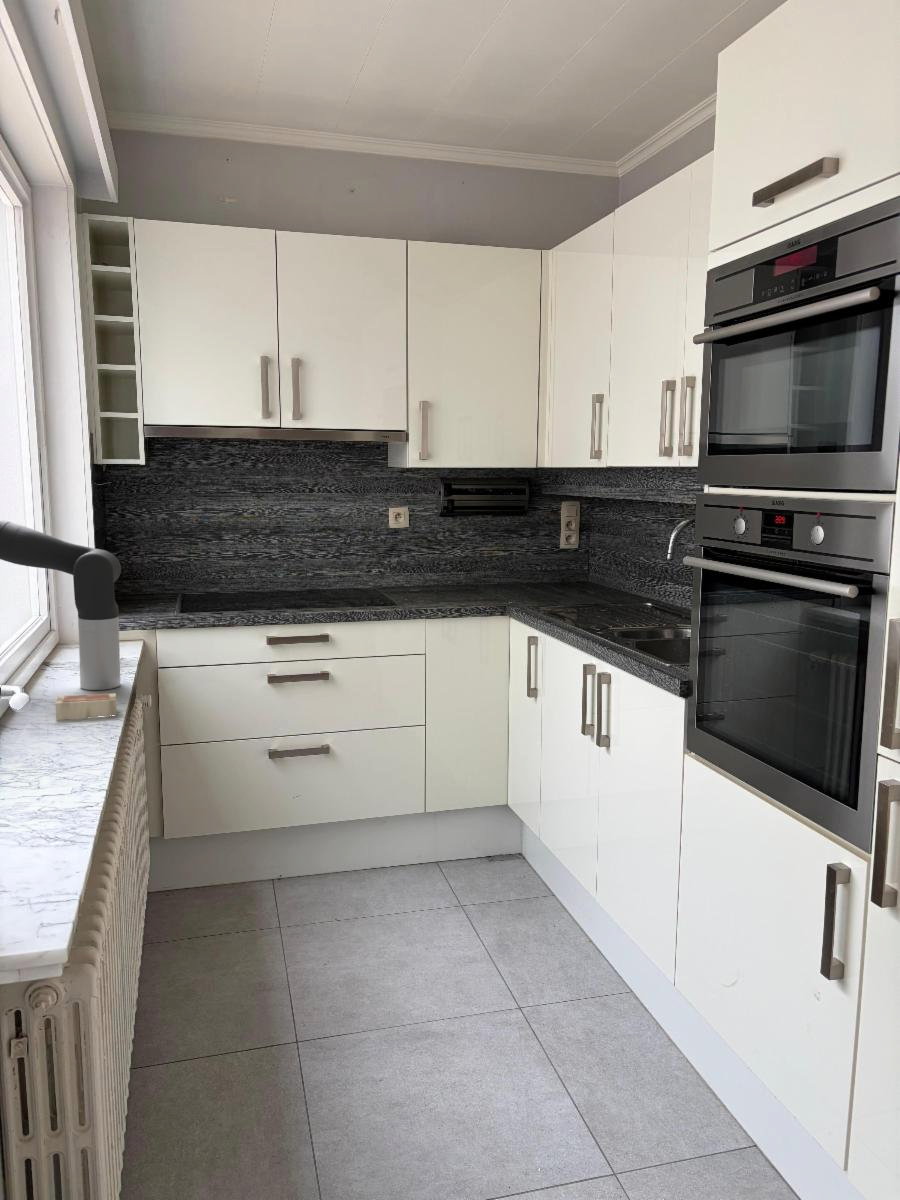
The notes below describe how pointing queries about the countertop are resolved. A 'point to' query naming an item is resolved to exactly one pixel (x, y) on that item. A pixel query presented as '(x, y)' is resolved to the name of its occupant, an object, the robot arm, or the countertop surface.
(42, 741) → the countertop surface
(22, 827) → the countertop surface
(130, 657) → the countertop surface
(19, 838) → the countertop surface
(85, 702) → the birch block
